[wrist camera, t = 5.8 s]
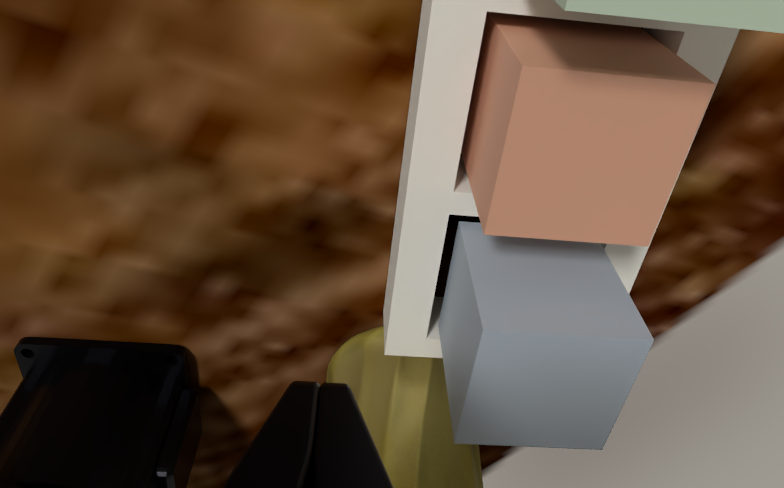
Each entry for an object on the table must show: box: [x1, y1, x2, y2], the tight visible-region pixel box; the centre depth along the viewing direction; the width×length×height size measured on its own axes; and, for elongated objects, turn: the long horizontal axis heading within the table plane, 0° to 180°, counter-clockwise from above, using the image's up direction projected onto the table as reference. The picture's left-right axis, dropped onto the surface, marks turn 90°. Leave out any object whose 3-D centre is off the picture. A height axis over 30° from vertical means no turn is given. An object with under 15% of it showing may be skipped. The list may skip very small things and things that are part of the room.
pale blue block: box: [438, 221, 654, 450], centre depth 18 cm, size 4×4×5 cm
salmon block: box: [461, 11, 716, 247], centre depth 17 cm, size 4×4×5 cm
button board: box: [383, 0, 740, 358], centre depth 18 cm, size 8×19×2 cm, turn 174°
